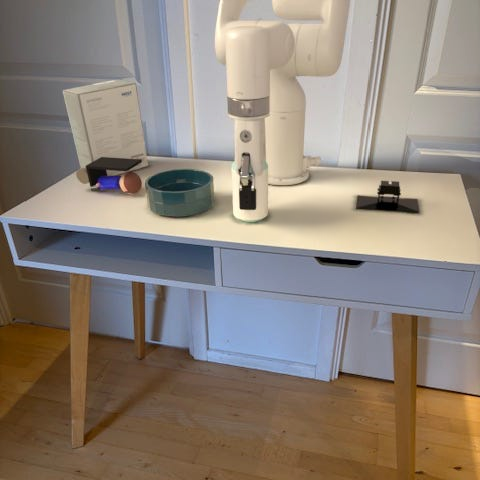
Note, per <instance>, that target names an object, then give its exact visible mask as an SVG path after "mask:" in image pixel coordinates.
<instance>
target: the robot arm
mask: <svg viewBox="0 0 480 480" xmlns="http://www.w3.org/2000/svg"><path fill="white" fill-rule="evenodd" d="M249 2H251V0H219V3H218V10H217V16H216V24H215V29H214V30H215V31H214V52H215V56H216V59H217V60H218V62H219V63H220V64H221V65H223V66H224V67H225V72H226V96H227V97H226V98H227V116H228V118H230V119H232V120H233V121H234V122H233V133H234V134H233V138H234V139H233V140H234V158H235V159H234V161H235V166H236V173H237V174H238V175H240V185H239V207H240V209H241V210H255V209H256V189H255V174H258V175H259V176H260V175H261V174H262V173H263V167H264V157H265V161H266V162H267V164H268V185H273V186H274V185H275V186H293V185H298V184H300V183H303V182H305V181H307V180H308V179H309V177H310V171H309V170H308V169H309V168H310V167H315V166H320V165H321V164H322V162H323V161H322V157H321V156H315V157H312V155H305V154H304V152H305V151H304V149H305V126H306V108H307V107H306V105H307V99H306V94H305V91H304V88H303V87H302V85H301V84H300V82H299V80H298V79H297V77H318V78H319V77H322V78H326V77H327V78H328V77H331V76H334V75H336V73H337V72H338V71H339V69H340V67H341V63H342V60H343V53H344V46H345V42H346V41H345V40H346V34H347V33H346V32H347V26H348V20H349V13H350V8H351V7H350V6H351V0H271V6H272V11H273V13H274V15H275V16H276V17H277V18H279V19H281V20H285V21H320V22H323V23H303V22H302V23H301V22H299V23H294V22H293V23H289V22H288V23H287V22H284V21H280V20H260V19H259V20H258V19H257V20H248V19H247V20H246V19H245V20H239V19H240V16H241V14H242V12H243V10H244V8H245V7H246V6H247V4H249ZM239 169H240V170H239ZM249 169H253V173H249ZM239 173H240V174H239ZM249 177H252V180H250V179H249Z"/></svg>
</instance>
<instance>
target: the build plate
mask: <svg viewBox="0 0 480 480" xmlns="http://www.w3.org/2000/svg"><path fill="white" fill-rule="evenodd" d="M401 191H402V190H401V186H400V181H398V180H397V181H396V180H395V181H394V180H391V182H390V181H389V180H381V181H380V184H379V185H378V187H377V196H376V195H357V198H356V204H355V205H356V206H355V210H361V211H374V212H376V211H377V212H391V213H404V214H415V215H416V214H419V213H420V208H419V206H420V205H419V200H418V198H409V197H400V196H402V195H401V194H402V193H401ZM386 195H389V196H386ZM390 195H392V196H390Z"/></svg>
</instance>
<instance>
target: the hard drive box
mask: <svg viewBox="0 0 480 480" xmlns="http://www.w3.org/2000/svg"><path fill="white" fill-rule="evenodd" d="M62 94H63V97H64V98H63V99H64V103H65V105H66V106H65V107H66V112H67V114H68V119H69V124H70V128H71V133H72V135H73V136H72V137H73V142H74V144H75V150H76V155H77V157H78V161H79V166H80V169H81V168H86V165H88V164H90V163H92V162H93V161H95V160H97V159H99V158H101V157H109V158H126V159H141V160H142V162H141V163H140V164H138V165H137V166H135V167H133V168H132V169H130V170H128V171H114V170H106V171H107V176H120V175H123V174H124V173H126V172H133V171H136V170H140V169H142V168H146V167H148V166H149V162H148V156H147V155H148V154H147V148H146V142H145V135H144V128H143V122H142V121H143V120H142V114H141V109H140V107H141V106H140V103H139V101H140V100H139V94H138V88H137V83H136V82H134V81H130V80H125V79H121V78H119V79H114V80H108V81H102V82H97V83H91V84H87V85H82V86H77V87H72V88H67V89H63V90H62Z"/></svg>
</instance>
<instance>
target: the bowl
mask: <svg viewBox="0 0 480 480" xmlns="http://www.w3.org/2000/svg"><path fill="white" fill-rule="evenodd" d="M144 188H145V195H146V203H147V207H148V208H149V210H150V211H151V212H153V213H155V214H157V215H161V216H166V217H188V216H193V215H198V214H200V213H203V212H206V211H208V210H209V209H211V208H212V207H213V206H214V205H215V202H216V201H215V200H216V199H215V183H214V176H213V175H212V173H210V172H208V171H205V170H201V169H198V168H197V169H196V168H174V169H173V168H172V169H168V170H163V171H159V172H156V173H153V174H152V175H150V176H148V177H147V178H146V179H145V181H144Z"/></svg>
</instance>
